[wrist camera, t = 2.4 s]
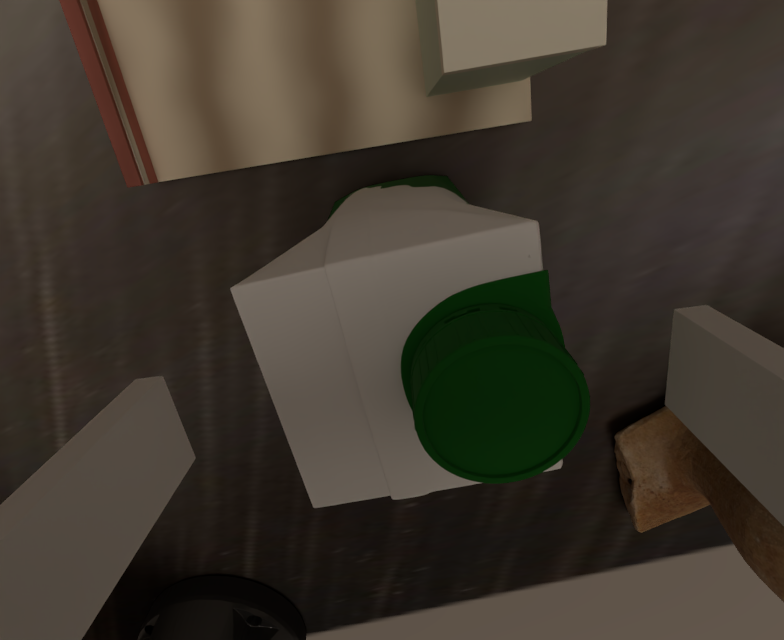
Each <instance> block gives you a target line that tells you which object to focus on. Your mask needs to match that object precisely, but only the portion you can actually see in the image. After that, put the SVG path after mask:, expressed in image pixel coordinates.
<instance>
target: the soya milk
mask: <svg viewBox="0 0 784 640" xmlns="http://www.w3.org/2000/svg"><path fill="white" fill-rule="evenodd" d="M230 290H231V293H232V296H233V298H234V301H235V303H236V306H237V309H238V311H239V314H240V317H241V319H242V322H243V325H244V327H245V330H246V332H247V335H248V338H249V340H250V343H251V345H252V348H253V351H254V353H255V356H256V359H257V361H258V364H259V366H260V369H261V372H262V374H263V377H264V380H265V382H266V385H267V387H268V390H269V393H270V395H271V398H272V401H273V403H274V406H275V408H276V411H277V414H278V416H279V419H280V422H281V424H282V427H283V429H284V432H285V435H286V437H287V440H288V443H289V445H290V448H291V450H292V453H293V456H294V458H295V461H296V464H297V466H298V469H299V471H300V474H301V477H302V479H303V482H304V485H305V487H306V490H307V492H308V495H309V498H310V500H311V503H312V505H313V508H319V507H326V506H332V505H338V504H344V503H350V502H355V501H361V500H367V499H373V498H379V497H385V496H391V498H392V499H393V500H398V499H405V498H412V497H417V496H422V495H426V494H429V493H430V492H433V491H439V490H445V489H451V488H457V487H462V486H468V485H473V484H479V483H509V482H515V481H520V480H523V479H527V478H530V477H532V476H535V475H537V474H540V473H542V472H546V471H551V470H556V469H560V468H561V466H562V464H563V460H562V459H563V458H564V457H565V456H566V455H567V454H568V453H569V452H570V451H571V450H572V449H573V447H574V446H575V445H576V443H577V442H578V440H579V439H580V437H581V435H582V434H583V431H584V429H585V427H586V424H587V421H588V417H589V411H590V395H589V390H588V386H587V383H586V380H585V378H584V376H583V375H584V374H583V372H582V371H581V370H580V368H579V367H578V366H577V365H578V364H577V363H576V362H575V360H574V359H573V358H572V356H571V355H570V354H569V353H568V351H567V350H566V349H565V345H564V339H563V335H562V331H561V328H560V325H559V323H558V321H557V319H556V316H555V314H554V312H553V310H552V308H551V298H550V285H549V275H548V270H544V271H543V265H542V252H541V240H540V230H539V223H538V222H537V221H535V220H531V219H527V218H523V217H519V216H515V215H511V214H506V213H502V212H498V211H494V210H490V209H486V208H481V207H477V206H473V205H470V204H469V203H468V202H467V201H466V199H465V198H464V197H463V196H462V194H461V193H460V192H459V191H458V189H457V188H456V187H455V186H454V184H453V183H452V182H451V181H450V179H449V178H448V177H447V176H436V175H426V176H417V177H411V178H406V179H400V180H395V181H390V182H385V183H380V184H376V185H371V186H368V187H364V188H361V189H358V190H356V191H354V192H352V193H350V194H348V195H347V196H345V197H343V198H341V199H340V200H338V201H336V202H335V203H334V206H333V208H332V211H331V213H330V216H329V218H328V221H327V222H326V223H325V225H324V226H323V227H322V228H320V229H319V230H317V231H316V232H315V233H313V234H312V235H310V236H309V237H307V238H306V239H304V240H303V241H301V242H300V243H298V244H297V245H295V246H294V247H292V248H291V249H289V250H288V251H287V252H285V253H284V254H282V255H281V256H279V257H278V258H276V259H275V260H273V261H272V262H270V263H269V264H267V265H266V266H264V267H263V268H261V269H260V270H258V271H257V272H255V273H254V274H252V275H251V276H249V277H248V278H246V279H245V280H243V281H241V282H240V283H238V284H236V285H235V286H233V287H231V288H230Z"/></svg>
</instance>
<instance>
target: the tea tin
mask: <svg viewBox="0 0 784 640" xmlns="http://www.w3.org/2000/svg"><path fill="white" fill-rule="evenodd" d="M415 1H416V10H417V19H418V28H419V37H420V46H421V55H422V64H423V73H424V82H425V91H426V97H430V96H436V95H442V94H448V93H454V92H460V91H466V90H471V89H477V88H483V87H489V86H495V85H501V84H507V83H512V82H518V81H522V80H524V79H526V78H529V77H531V76H533V75H535V74H537V73H540V72H542V71H544V70H546V69H548V68H551V67H553V66H555V65H557V64H560V63H562V62H564V61H566V60H568V59H571V58H573V57H575V56H577V55H579V54H582V53H584V52H586V51H589V50H594V49H597V48H600V47H602V46H604V45H606V31H607V0H415Z"/></svg>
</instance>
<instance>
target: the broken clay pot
mask: <svg viewBox="0 0 784 640" xmlns="http://www.w3.org/2000/svg"><path fill="white" fill-rule="evenodd" d="M614 439H615V440H616V443H615V449H614V452H615V454H616V459H617V463H616V464H617V468H618V470H619V472H620V478H619V480H620V488H621V493H622V495H623V498H624V501H625V504H626V507H627V510H628V512H629V514H630V517H631V520H632V523H633V526H634V527H635V529H636V530H637V531H639V532H641V533H642V532H644V531H646V530H649V529H651V528H654V527H656V526H658V525H661V524H663V523H666V522H668V521H671V520H673V519H676V518H679V517H681V516H684V515H686V514H689V513H692V512H694V511H696V510H699V509H701V508H703V507H705V506H708V505H710V504H711V506H712V508H713V510H714V512H715V513H716V515H717V517H718V519H719V520H720V522H721V524H722V525H723V527H724V529H725V530H726V532H727V534H728V535H729V537H730V538H731V540H732V542H733V543H734V545H735V547H736V548H737V550H738V551H739V553H740V554H741V556H742V557H743V559H744V560H745V561H746V563H747V564H748V565H749V566H750V567H751V568H752V570H753V571H754V572H755V573H756V574H757V576H758V577H759V578H760V579H761V580H762V581H763V582H764V583H765V584H766V585H767V586H768V587H769V588H770V589H771V590H772V591H773V592H774V593H775V594H776V595H777V596H778V597H779V598H780V599H781V600H782V601H783V602H784V526H783V525H782V524H781V523H780V522H779V521H778V520H777V519H776V518H775V517H774V516H773V515H772V514H771V513H770V512H769V511H768V510H767V509H766V508H765V507H764V506H763V505H762V504H761V503H760V502H759V501H758V500H757V499H756V498H755V496H754V495H753V494H752V493H751V492H750V491H749V490H748V489H747V488H746V487H745V486H744V485H743V484H742V483H741V482H740V481H739V480H738V479H737V478H736V477H735V476H734V475H733V474H732V473H731V472H730V471H729V470H728V469H727V468H726V467H725V466H724V465H723V464H722V463H721V462H720V461H719V460H718V459H717V457H716V456H715V455H714V454H713V453H712V452H711V451H710V450H709V449H708V448H707V447H706V446H705V445H704V444H703V443H702V442H701V441H700V440H699V439H698V438H697V437H696V436H695V435H694V434H693V433H692V432H691V431H690V430H689V429H688V428H687V427H686V426H685V425H684V424H683V423H682V422H681V421H680V419H679V418H678V417H677V416H676V415H675V414H674V413H673V412H672V411H671V410H670V409H669V408H668V407H667V406H665V407H663V408H661V409H659V410H657V411H655V412H654V413H652V414H650V415H648V416H646V417H644V418H642V419H640V420H638V421H636V422H635V423H633V424H631V425H629V426H627V427H625V428H624V429H622V430H621V431H619V432H617V433H616V435H615V437H614Z"/></svg>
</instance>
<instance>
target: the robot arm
mask: <svg viewBox="0 0 784 640" xmlns="http://www.w3.org/2000/svg"><path fill="white" fill-rule="evenodd" d="M665 405H666V406H667V407H668V408H669V409H670V410H671V411H672V412H673V413H674V414H675V415H676V416H677V417H678V418H679V419H680V421H681V422H682V423H683V424H684V425H685V426H686V427H687V428H688V429H689V430H690V431H691V432H692V433H693V434H694V435H695V436H696V437H697V438H698V439H699V440H700V441H701V442H702V443H703V444H704V445H705V446H706V447H707V448H708V449H709V450H710V451H711V452H712V453H713V454H714V455H715V456H716V457H717V459H718V460H719V461H720V462H721V463H722V464H723V465H724V466H725V467H726V468H727V469H728V470H729V471H730V472H731V473H732V474H733V475H734V476H735V477H736V478H737V479H738V480H739V481H740V482H741V483H742V484H743V485H744V486H745V487H746V488H747V489H748V490H749V491H750V492H751V493H752V494H753V495H754V496H755V498H756V499H757V500H758V501H759V502H760V503H761V504H762V505H763V506H764V507H765V508H766V509H767V510H768V511H769V512H770V513H771V514H772V515H773V516H774V517H775V518H776V519H777V520H778V521H779V522H780V523H781V524H782V525H783V526H784V348H782V347H780V346H779V345H777V344H775V343H773V342H772V341H770V340H768V339H766V338H764V337H763V336H761V335H759V334H757V333H756V332H754V331H752V330H750V329H748V328H747V327H745V326H743V325H741V324H739V323H738V322H736V321H734V320H732V319H731V318H729V317H727V316H725V315H723V314H722V313H720V312H718V311H716V310H715V309H713V308H711V307H709V306H707V305H703V306H695V307H688V308H680V309H674V314H673V324H672V334H671V345H670V355H669V365H668V375H667V386H666V396H665ZM195 459H196V457H195V455H194V452H193V450H192V447H191V445H190V442H189V440H188V437H187V435H186V433H185V430H184V428H183V425H182V423H181V420H180V418H179V415H178V413H177V410H176V408H175V405H174V403H173V400H172V398H171V395H170V393H169V390H168V388H167V385H166V383H165V380H164V378H163V376H157V377H149V378H142V379H135V380H134V381H133V382H132V383H131V384H130V385H129V386H128V387H127V388H126V389H124V390H123V391H122V392H121V393H120V394H119V395H118V396H117V397H116V398H115V399H114V400H113V401H112V402H111V403H109V404H108V405H107V406H106V407H105V408H104V409H103V410H102V411H101V412H100V413H99V414H98V415H97V416H95V417H94V418H93V419H92V420H91V421H90V422H89V423H88V424H87V425H86V426H85V427H84V428H83V429H81V430H80V431H79V432H78V433H77V434H76V435H75V436H74V437H73V438H72V439H71V440H70V441H69V442H67V443H66V444H65V445H64V446H63V447H62V448H61V449H60V450H59V451H58V452H57V453H56V454H55V455H54V456H52V457H51V458H50V459H49V460H48V461H47V462H46V463H45V464H44V465H43V466H42V467H41V468H40V469H38V470H37V471H36V472H35V473H34V474H33V475H32V476H31V477H30V478H29V479H28V480H27V481H26V482H24V483H23V484H22V485H21V486H20V487H19V488H18V489H17V490H16V491H15V492H14V493H13V494H12V495H10V496H9V497H8V498H7V499H6V500H5V501H4V502H3V503H2V504H1V505H0V640H82V638H83V637H84V635H85V633H86V632H87V630H88V629H89V627H90V625H91V624H92V622H93V621H94V619H95V617H96V616H97V614H98V613H99V611H100V610H101V608H102V606H103V605H104V603H105V602H106V600H107V598H108V597H109V595H110V594H111V592H112V590H113V589H114V587H115V586H116V584H117V583H118V581H119V579H120V578H121V576H122V575H123V573H124V571H125V570H126V568H127V567H128V565H129V563H130V562H131V560H132V559H133V557H134V556H135V554H136V552H137V551H138V549H139V548H140V546H141V544H142V543H143V541H144V540H145V538H146V536H147V535H148V533H149V532H150V530H151V529H152V527H153V525H154V524H155V522H156V521H157V519H158V517H159V516H160V514H161V513H162V511H163V509H164V508H165V506H166V505H167V503H168V501H169V500H170V498H171V497H172V495H173V494H174V492H175V490H176V489H177V487H178V486H179V484H180V482H181V481H182V479H183V478H184V476H185V474H186V473H187V471H188V470H189V468H190V467H191V465H192V463H193V462H194V460H195ZM138 640H306V629H305V625H304V622H303V620H302V618H301V616H300V614H299V613H298V611H297V610H296V609H295V608H294V606H293V605H292V604H291V603H290V602H289V601H287V600H286V599H285V598H284V597H282V596H281V595H280V594H278V593H276V592H275V591H273V590H271V589H269V588H267V587H265V586H263V585H261V584H258V583H255V582H252V581H249V580H245V579H241V578H236V577H228V576H203V577H196V578H191V579H187V580H184V581H181V582H179V583H176V584H174V585H172V586H171V587H169V588H167V589H166V590H165V591H163V592H162V593H161V594H160V595H159V596H158V597H157V599H156V600H155V601H154V603H153V605H152V607H151V609H150V611H149V612H148V614H147V616H146V618H145V620H144V622H143V624H142V626H141V629H140V632H139V635H138Z"/></svg>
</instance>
